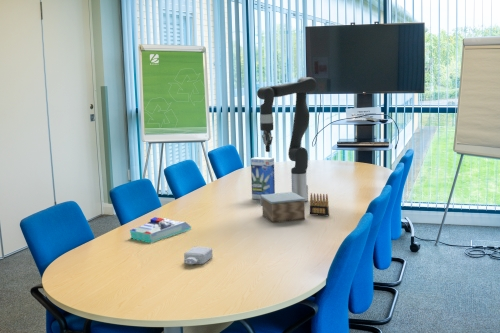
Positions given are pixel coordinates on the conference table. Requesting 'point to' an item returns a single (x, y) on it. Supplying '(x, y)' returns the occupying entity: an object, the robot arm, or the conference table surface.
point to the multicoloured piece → (158, 229)
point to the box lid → (281, 197)
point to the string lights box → (262, 176)
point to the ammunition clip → (319, 205)
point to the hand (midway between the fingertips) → (267, 151)
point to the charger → (198, 255)
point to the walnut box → (283, 211)
